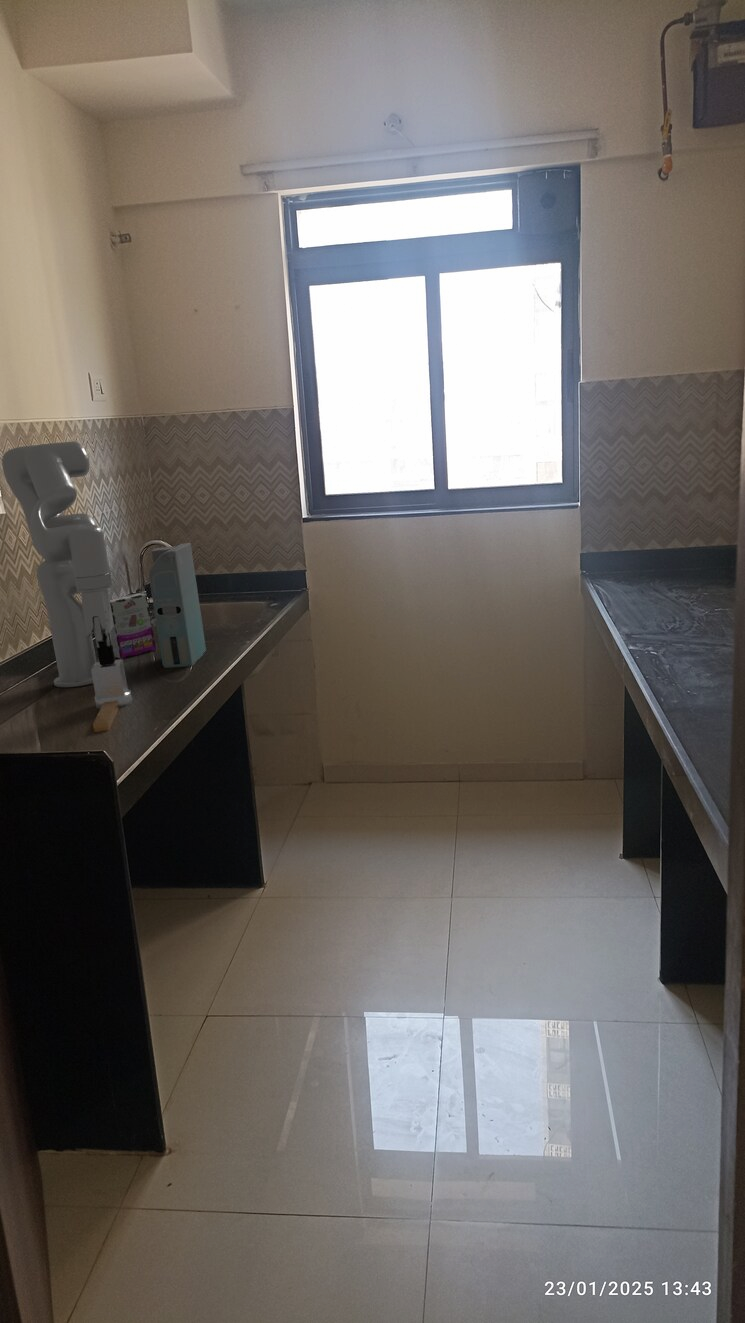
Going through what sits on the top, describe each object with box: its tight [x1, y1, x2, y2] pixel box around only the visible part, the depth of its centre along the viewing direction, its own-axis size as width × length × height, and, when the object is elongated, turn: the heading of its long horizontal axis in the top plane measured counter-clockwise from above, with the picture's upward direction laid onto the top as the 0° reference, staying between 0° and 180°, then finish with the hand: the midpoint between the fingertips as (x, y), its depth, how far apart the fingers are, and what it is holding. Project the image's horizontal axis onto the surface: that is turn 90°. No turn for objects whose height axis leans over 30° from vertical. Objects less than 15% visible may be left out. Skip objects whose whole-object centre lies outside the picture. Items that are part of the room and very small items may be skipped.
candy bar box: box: [109, 592, 157, 660], centre depth 259 cm, size 11×5×16 cm, turn 131°
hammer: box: [92, 688, 133, 733], centre depth 203 cm, size 24×8×6 cm, turn 8°
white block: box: [91, 659, 128, 699], centre depth 210 cm, size 6×6×7 cm
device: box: [148, 542, 207, 669], centre depth 245 cm, size 16×8×30 cm, turn 177°
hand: (107, 663), depth 209 cm, fingers closed
